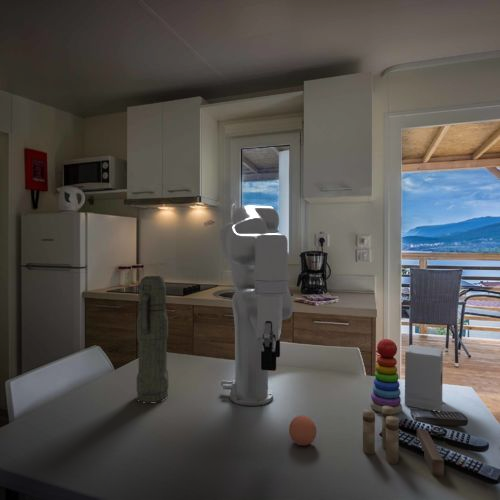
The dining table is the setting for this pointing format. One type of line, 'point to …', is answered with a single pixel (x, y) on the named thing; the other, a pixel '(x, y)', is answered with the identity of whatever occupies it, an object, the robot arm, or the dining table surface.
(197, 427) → the dining table surface
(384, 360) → the stacking toy
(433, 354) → the supplement box
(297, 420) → the ball
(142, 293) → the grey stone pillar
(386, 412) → the pin
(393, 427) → the pin
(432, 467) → the wall
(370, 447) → the pin front
